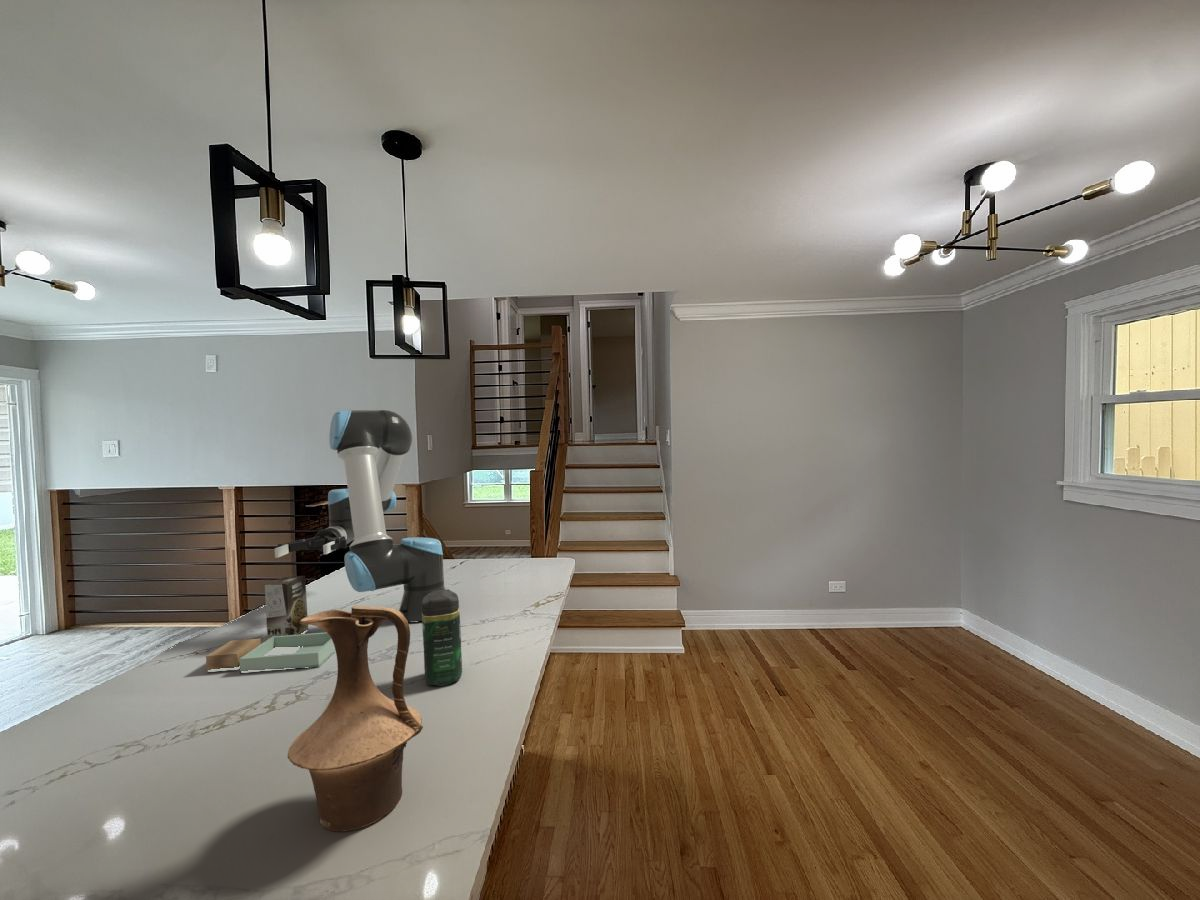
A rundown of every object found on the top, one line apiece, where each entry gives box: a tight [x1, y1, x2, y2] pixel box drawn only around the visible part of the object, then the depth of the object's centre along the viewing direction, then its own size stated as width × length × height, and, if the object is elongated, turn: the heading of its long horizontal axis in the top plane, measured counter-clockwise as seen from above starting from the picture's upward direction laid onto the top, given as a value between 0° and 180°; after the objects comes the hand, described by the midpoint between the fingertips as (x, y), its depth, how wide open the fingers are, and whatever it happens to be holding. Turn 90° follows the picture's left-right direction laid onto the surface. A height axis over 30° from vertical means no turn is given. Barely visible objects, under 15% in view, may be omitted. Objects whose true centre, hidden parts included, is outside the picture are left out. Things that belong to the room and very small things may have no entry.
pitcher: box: [287, 605, 424, 832], centre depth 76 cm, size 18×17×28 cm
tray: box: [239, 631, 336, 672], centre depth 132 cm, size 18×15×4 cm
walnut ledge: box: [205, 638, 262, 671], centre depth 131 cm, size 7×10×4 cm
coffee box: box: [264, 575, 309, 641], centre depth 148 cm, size 9×6×16 cm
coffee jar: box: [421, 588, 463, 687], centre depth 117 cm, size 10×8×19 cm
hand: (300, 551), depth 157 cm, fingers open, 13 cm apart
